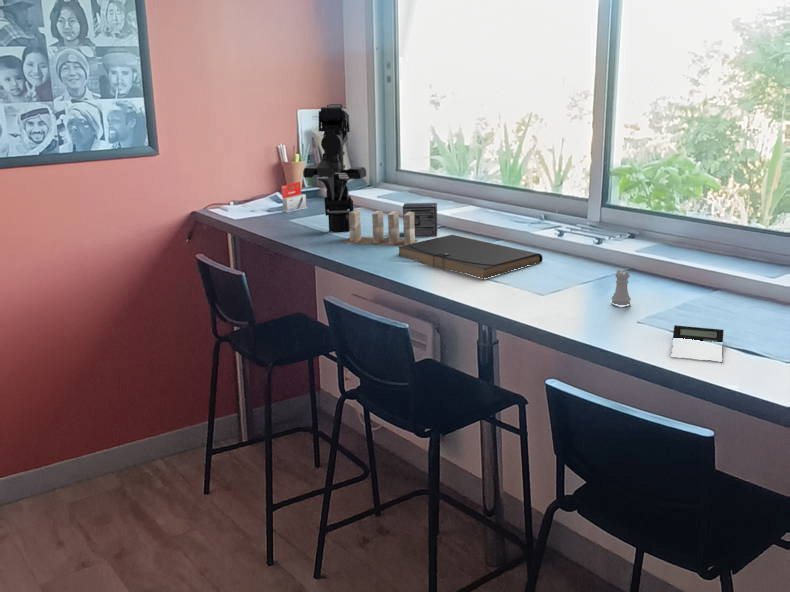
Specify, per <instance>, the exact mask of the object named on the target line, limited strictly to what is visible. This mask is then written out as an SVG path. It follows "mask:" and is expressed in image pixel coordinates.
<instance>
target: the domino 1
mask: <svg viewBox="0 0 790 592" xmlns="http://www.w3.org/2000/svg"><path fill="white" fill-rule="evenodd" d="M349 222H350V231H349V238H350V242H356V241H358V240H359V239H361V237H362V229H361V223H362V222H361V210H360V209H354V210H353V211H351V212H349Z"/></svg>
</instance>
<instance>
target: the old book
mask: <svg viewBox="0 0 790 592" xmlns="http://www.w3.org/2000/svg"><path fill="white" fill-rule="evenodd" d="M398 249H399V250H398V255H399V256H401V257H403V258H408V259H412V260H413V261H412V262H415V263H418V264H421V265H424V266H425V265H426V266H428V267H430V266H431V267H434V266H435V267H434V268H438V267H439V269H442V268H444V269H443V270H445V269H447V270H446V271H449V270H453V271H452V272H454V271H457V272H456V273H458V272H462V273H467V274H470V275H473V276H476V277H480V278H483V279H484V278H488V277H491V276H495V275H498V274H502V273H505V272H508V271H511V270H514V269H518V268H521V267H525V266H527V265H532V264H535V263H538V264H540V263H539V262H541V263H542V262H543V255H542V254H541V253H538V252H534V251H529V250H523V249H520V248H515V247H510V246H506V245H502V244H497V243H492V242H489V241H484V240H479V239H474V238H470V237H466V236H461V235H456V234H450V235H444V236H440V237H433V238H430V239H425V240H421V241H417V242H415V243H412V244H409V245H405V246H398ZM415 260H416V261H415ZM535 265H536V264H535ZM532 266H533V265H532ZM525 268H526V267H525ZM462 273H461V274H462ZM508 273H509V272H508ZM505 274H506V273H505ZM502 275H503V274H502ZM473 276H472V277H473ZM483 279H482V280H483Z"/></svg>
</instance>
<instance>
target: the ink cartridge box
mask: <svg viewBox="0 0 790 592" xmlns="http://www.w3.org/2000/svg"><path fill="white" fill-rule="evenodd" d="M280 187H281V197H282V212H283V213H291V212H294V211H295V212H296V211H299V210H301V209H305V208H307V195H306V194H305V193H302V187H301V182H300V181H296V182H293V183H288V184H285V185H281V186H280ZM290 187H293V188H290ZM289 188H290V189H289Z"/></svg>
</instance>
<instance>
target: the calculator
mask: <svg viewBox="0 0 790 592" xmlns="http://www.w3.org/2000/svg"><path fill="white" fill-rule="evenodd" d="M672 333H673V335H672V339H673V338H683V339H684V338H685V339H692V340H693V339H694V340H700V341H710V342H712V341H713V342H723V343H724V329H719V328H708V327H697V326H695V327H694V326H687V325H674V326H673V332H672Z"/></svg>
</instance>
